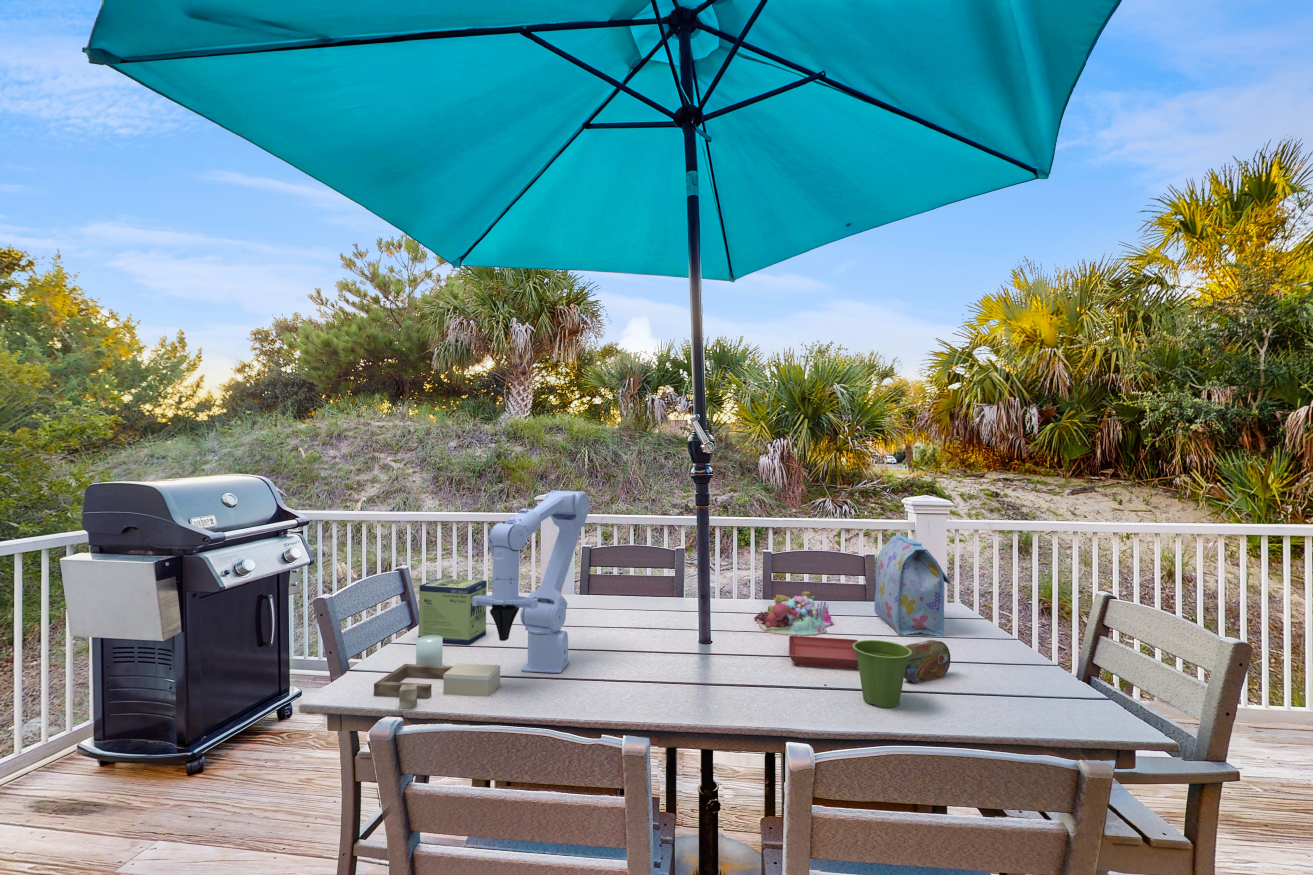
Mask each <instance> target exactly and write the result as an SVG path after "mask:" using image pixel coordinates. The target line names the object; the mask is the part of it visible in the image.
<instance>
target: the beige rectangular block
mask: <svg viewBox="0 0 1313 875" xmlns="http://www.w3.org/2000/svg"><path fill="white" fill-rule="evenodd" d="M443 678H444V679H443V691H442V692H443V695H452V696H453V695H455V696H457V695H458V696H471V697H472V696H473V697H490V695H491V694H492V693H493V692H494V691H495V690H496V689H497V688H499V686H500V685H501V665H497V664H496V665H495V664H479V663H478V664H477V663H473V664H472V663H456V664H455V665H454V667H452V668H451V669H450V670H448V671H447V672H446V673H444V675H443Z"/></svg>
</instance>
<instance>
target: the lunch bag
mask: <svg viewBox="0 0 1313 875" xmlns="http://www.w3.org/2000/svg"><path fill="white" fill-rule="evenodd" d="M875 565H876V568H875V569H876V571H875V572H876V574H875V576H876V581H875V592H874V593H875V594H874V605H873V606H874V609H873V610H874V614H875V615H876V616H878V617H879V618H880V619H882V620H883V621H884V622H885V623H886V624H887V625H889V627H891V628H893V629H894V631H896V633H897V634H898V635H903V636H907V635H912V634H917V633H918V634H922V635H923V634H924V635H931V636H932V635H933V636H936V637H943V636H944V635H945V634H944V633H945V583H946V584H947V585H951V581H950V579H949V578H948V577H947V575H946V573H945V572H944V570H943V569H942V567H941V565H940V564H939V562H938V560H937V559H936V558H935V557H934V556H933V555H932V553H930V551H929V550H928V549H927V548H925V547H923V543H922V542H917V541H916V540H914V539H913V538H909V537H907V536H904V535H903V534H900V535H899V534H898V535H896V534H895V535H893V536H891V538H890V539H889V540H888V541H887V543H885V545H884V546H883V547H882V549H881V550H880V551H879V553H878V555H877V558H876V564H875Z"/></svg>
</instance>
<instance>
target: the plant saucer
mask: <svg viewBox="0 0 1313 875" xmlns="http://www.w3.org/2000/svg"><path fill="white" fill-rule="evenodd" d="M858 641H859V640H858V639H853V638H852V639H851V638H835V637H821V636H820V637H819V636H791V635H788V655H789V657H790V659H791V660H792V662H793V663H794V664H795V665H796V666H804V667H819V668H832V669H833V668H834V669H845V670H846V669H848V670H857V669H859V665H858V660H857V658H856V652H855V649H854V648H853V646H852V645H853V644H854V643H855V642H858Z"/></svg>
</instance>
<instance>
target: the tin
mask: <svg viewBox="0 0 1313 875" xmlns="http://www.w3.org/2000/svg"><path fill="white" fill-rule="evenodd" d="M905 646H906V647H908V648H909V649H910V650H911V651H912V654H911V656H909V659H908V664H907V666H906V669H905V675H904V679H905V680H906V681H909V682H912V683H915V684H920V683H924V682H928V681H932V680H936V679H940V678H942V677H944V676H945V675H946V674H947V673H948V672H949V668H950V666H951V652H950V649H949V647H948V646H947V644H946V643H944V642H943V641H940V640H939V641H938V640H934V639H929V640H924V641H918V642H915V643H910V644H907V645H905Z"/></svg>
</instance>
